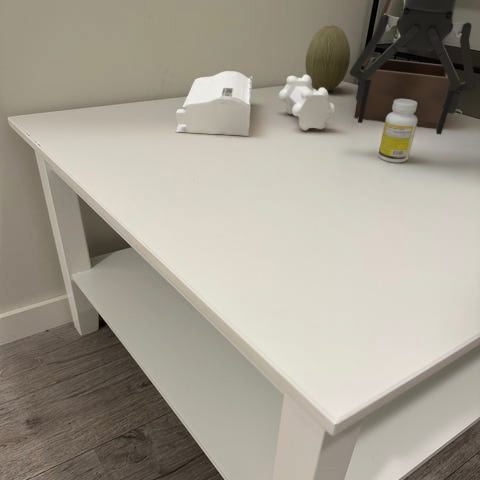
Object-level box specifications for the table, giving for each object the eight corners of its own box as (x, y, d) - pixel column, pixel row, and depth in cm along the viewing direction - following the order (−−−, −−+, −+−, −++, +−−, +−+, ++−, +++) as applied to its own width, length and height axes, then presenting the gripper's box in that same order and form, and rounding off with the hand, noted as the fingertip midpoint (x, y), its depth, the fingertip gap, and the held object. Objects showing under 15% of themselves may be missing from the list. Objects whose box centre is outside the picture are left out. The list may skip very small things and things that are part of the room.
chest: (436, 111, 116) (449, 65, 110) (436, 128, 104) (451, 78, 98) (361, 102, 120) (369, 57, 113) (353, 117, 108) (363, 68, 102)
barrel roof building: (189, 100, 114) (188, 67, 109) (251, 103, 114) (252, 71, 110) (175, 132, 94) (174, 94, 90) (249, 136, 94) (251, 98, 90)
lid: (410, -42, 101) (370, -56, 101) (407, -42, 89) (362, -57, 90) (371, 55, 113) (337, 43, 114) (365, 67, 102) (326, 53, 102)
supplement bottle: (388, 150, 91) (401, 95, 85) (413, 159, 88) (428, 102, 82) (371, 156, 88) (383, 100, 82) (396, 165, 85) (411, 107, 79)
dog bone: (333, 132, 99) (339, 90, 94) (292, 132, 97) (297, 89, 92) (312, 111, 110) (317, 73, 105) (275, 112, 109) (279, 72, 104)
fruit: (352, 90, 128) (363, 26, 119) (331, 98, 121) (341, 29, 112) (315, 83, 134) (324, 20, 124) (293, 89, 127) (300, 23, 117)
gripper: (521, -14, 72) (471, 130, 85) (355, -28, 77) (332, 111, 90) (529, -12, 66) (474, 143, 79) (349, -26, 71) (325, 121, 85)
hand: (398, 126), depth 85 cm, fingers open, 13 cm apart
